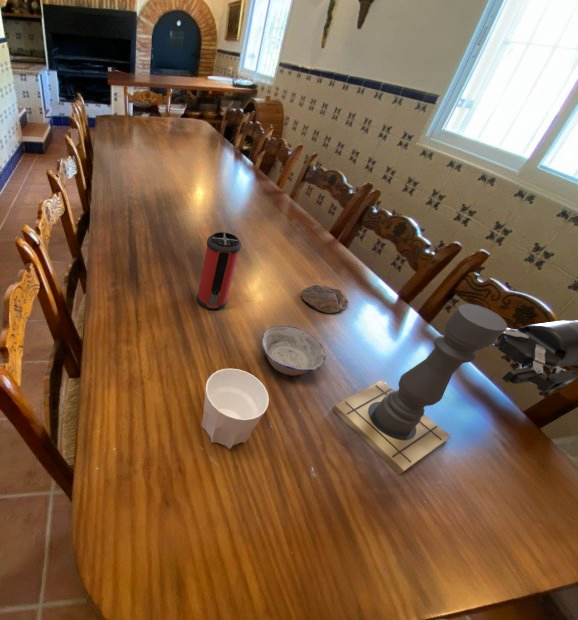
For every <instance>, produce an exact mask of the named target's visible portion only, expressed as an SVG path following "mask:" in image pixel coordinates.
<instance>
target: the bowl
mask: <svg viewBox="0 0 578 620" xmlns="http://www.w3.org/2000/svg"><path fill="white" fill-rule="evenodd" d="M261 346H262V350H264V354H265V355H266V358H267V360H268V363H269V364H270V365H271V367H272V368H273V369H274V370H276V371H277V372H279V373H280V374H283V375H287V376H292V377H293V376H299V375H300V376H301V375H304V374H306V373H307V374H308V372H315V371H316V370H319V369H321V367H322V366H323V365H324V363H325V361H326V357H327V354H326V353H325V352H326V351H325V349H324V347H323V345H322V344H321V342H320V341H319V340H318V339H317V338H316V337H315V336H313V335H312V334H311V333H309V332H308V331H305V330H304V329H300V328H298V327H297V326H289V325H275V326H271V327H270V328H268V329H266V330H265V331H264V332H263V333H262V336H261Z"/></svg>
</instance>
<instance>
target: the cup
mask: <svg viewBox="0 0 578 620" xmlns="http://www.w3.org/2000/svg"><path fill="white" fill-rule="evenodd" d="M204 391H205V392H204V401H203V403H204V404H203V413H202V418H201V426H200V427H201V428H202V429H204V430H205V432H206V433H207V435H208V436H209V438H210V443H211V444H212V443H217V444H220V445H223V446H225V447H226V448H227V449H229V450H231V449H232V448H233V446H236V445H238V444H240V443H247V441H248V440H249V437H250V436H251V435H252V433H253V432H254V429H255V428H256V426H257V425H258V423H259V422H260V420H261V419H262V417H263V415H264V414H265V412H266V411H267V409H268V407H269V402H270V398H269V392H268V390H267V388H266V387H265V385H264V384H263V383H262V382H261V380H260V379H259V378H257V377H256V376H255V375H253V374H252V373H250V372H248V371H245V370H242V369H239V368H231V367H230V368H222V369H219V370H216V371H215V372H213V373H212V374H210V376H209V377H208V378H207V381H206V384H205V390H204Z"/></svg>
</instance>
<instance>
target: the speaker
mask: <svg viewBox="0 0 578 620" xmlns="http://www.w3.org/2000/svg"><path fill="white" fill-rule="evenodd" d="M241 249H242V242H241V241H240V240H239V238H238V237H237V236H236V235H235V234H232V233H230V232H226V231H225V232H223V231H219V232H214V233H213V234H211V235H210V236H208V238H207V239H206V249H205V254H204V261H203V266H202V270H201V277H200V281H199V288H198V293H197V295H196V301H197V303H198V304H199V305H200V306H202V307H203V308H205V309H210V310H220V309H223V308H224V307H225V306H227V303H228V297H229V292H230V289H231V284H232V282H233V277H234V274H235V269H236V265H237V261H238V257H239V254H240V251H241Z"/></svg>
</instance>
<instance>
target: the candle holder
mask: <svg viewBox="0 0 578 620" xmlns="http://www.w3.org/2000/svg"><path fill="white" fill-rule="evenodd" d="M506 328H508V323H507V321H506V320H505V319H504V318H503V317H502V316H500V315H499V314H498V313H496V312H495V311H492V310H490V309H489V308H486V307H484V306H481V305H478V304H473V303H462V304H460V305H459V306H458V307H457V308H456V309H455V311H454V312H453V313H452V314H451V315H450V317H449V318H448V319H447V321H446V322H445V327H444V334H442V335H438V336H436V337H435V338H434V341H433V345H434V348H433V349H432V351H431V352H430V354H429V355H428V356H427V357H426V358H425V359H423V360H422V361H421V362H419V363H418V364H416V365H415V366H413V367H412V368H410V369H409V370H407V371H405V372H404V373H403V374H401V376H400V378H399V381H398V390H394V391H393V392H391V393H389V395H388V396H386V397H384V398H383V400H382V401H381V402H380V403H379V405H378V406H377V407H376V409H375V412H374V413H375V418H376V419H377V421H378V422H379V424H381V425H382V426H383V427H384V428H385V429H387V430H388V431H390V432H392V433H395V434H399V435H406V434H408V433H409V432H410V431H411V430H412V429H413V428H414V427H415V426H416V425H417V424H418V423H419V422H420V420H421V417H422V416H423V415H425V407H429V406H434V405H435V404H438V403H439V402H440V401H441V400H442V399H443V397H444V395H445V392H446V390H447V387H448V385H449V383H450V381H451V379H452V376H453V374H454V373H455V372H456V371H457V370H458V369H459V368H460V367H461V366H462V365H463V364H464V363H471V362H472V361H474V360H476V357H477V353H476V352H477V351H481V350H484V349H485V348H489V347H488V346H489V345H491V344H492V343H493V342H496V340H498V337H499V336H500V335H501V334H502V333H503V332H504V331H505V329H506Z"/></svg>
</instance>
